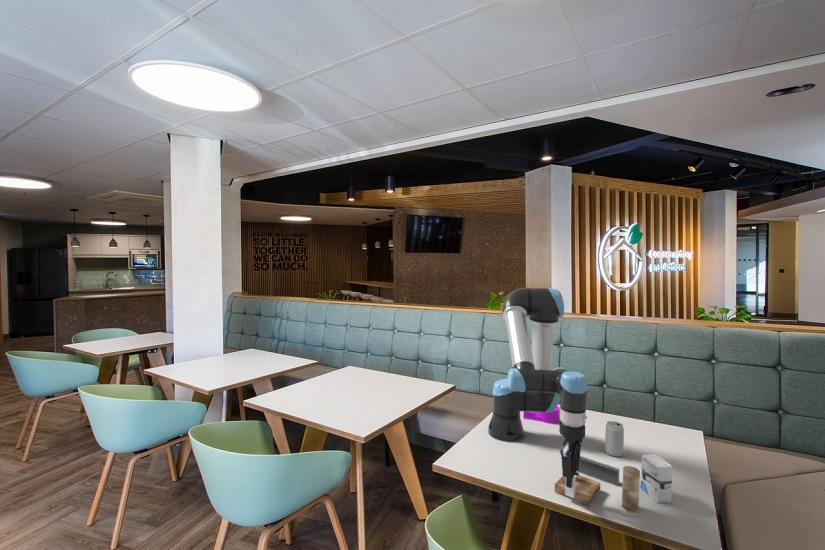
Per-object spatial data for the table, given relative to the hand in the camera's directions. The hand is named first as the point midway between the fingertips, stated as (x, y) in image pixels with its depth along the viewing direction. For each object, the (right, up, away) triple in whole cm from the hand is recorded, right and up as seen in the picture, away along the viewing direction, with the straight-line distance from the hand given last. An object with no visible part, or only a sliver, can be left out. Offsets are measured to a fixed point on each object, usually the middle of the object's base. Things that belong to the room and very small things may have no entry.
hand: (570, 495), depth 124 cm
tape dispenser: (+12, 0, +64) cm, 65 cm away
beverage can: (+30, -1, +31) cm, 43 cm away
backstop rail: (+13, -1, +15) cm, 20 cm away
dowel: (+17, -2, -3) cm, 18 cm away
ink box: (+29, -2, +4) cm, 30 cm away
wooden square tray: (+5, -2, +5) cm, 7 cm away
